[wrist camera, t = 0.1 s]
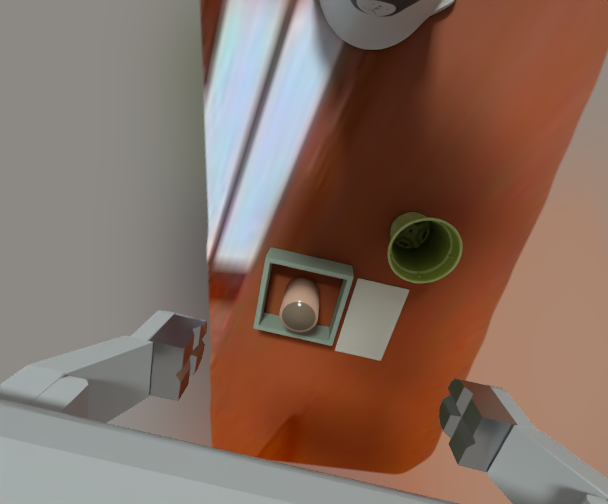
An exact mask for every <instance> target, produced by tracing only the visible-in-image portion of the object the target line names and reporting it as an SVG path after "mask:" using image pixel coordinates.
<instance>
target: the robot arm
mask: <svg viewBox="0 0 608 504" xmlns="http://www.w3.org/2000/svg"><path fill="white" fill-rule="evenodd" d="M454 1H455V0H319V2H320V5H321V8H322V11H323V14H324V16H325V18H326V20H327V22H328V24H329V25H330V27H331V28H332V29H333V31H334V32H335V33H336V34H337V35H338V36H339V37H340V38H341V39H342V40H344V41H345V42H347V43H349V44H350V45H352V46H355V47H357V48H361V49H367V50H379V49H384V48H388V47H391V46H393V45H396V44H398V43H400V42H401V41H403V40H404V39H406V38H407V37H409V36H410V35H411V34H412V33H413V32H414V31H415V30H416V29H417V28H418V27H419V26H420V25H421V24H422V23H423V22H424V21H425V20H426V19H427V18H428V17H430V16H431V15H433V14H436V13H438V12H440V11H442V10H444V9H446V8H447V7H449V6H450V5H451V4H452V3H453V2H454ZM206 330H207V322H206V321H205V320H201V319H197V318H193V317H189V316H185V315H181V314H176V313H174V312H169V311H164V310H159V311H157V312H156V313H155V314H154V315H153V316H152V317H151V318H149V319H148V320H147V321H146V322H145V323H144V324H143V325H142V326H141V327H140V328H139V329H137V330H136V331H135V332H134V333H133V334H132V335H131V336H130V337H129V336H122V337H119V338H115V339H112V340H109V341H105V342H102V343H99V344H95V345H92V346H89V347H85V348H82V349H79V350H76V351H72V352H69V353H65V354H62V355H59V356H56V357H52V358H49V359H46V360H42V361H39V362H36V363H32V364H29V365H27V366H26V367H25V368H23V369H22V370H20V371H19V372H17V373H16V374H15V375H13V376H12V377H10V378H9V379H7V380H6V381H5V382H3V383H2V384H0V504H458V503H454V502H449V501H445V500H440V499H436V498H432V497H427V496H423V495H419V494H415V493H410V492H406V491H401V490H397V489H393V488H388V487H384V486H379V485H375V484H371V483H366V482H362V481H358V480H353V479H348V478H344V477H340V476H336V475H331V474H327V473H322V472H318V471H313V470H309V469H304V468H300V467H296V466H291V465H287V464H283V463H278V462H274V461H269V460H265V459H261V458H256V457H252V456H247V455H243V454H239V453H234V452H230V451H226V450H221V449H217V448H212V447H208V446H204V445H199V444H195V443H191V442H186V441H182V440H177V439H173V438H169V437H164V436H160V435H156V434H151V433H146V432H142V431H138V430H134V429H129V428H125V427H120V426H116V425H111V424H107V422H108V421H110V420H111V419H113V418H115V417H116V416H118V415H120V414H121V413H123V412H125V411H126V410H128V409H130V408H131V407H133V406H135V405H136V404H138V403H139V402H141V401H143V400H144V399H146V398H148V397H149V395H151V396H157V397H161V398H166V399H171V400H177V401H178V400H179V399H180V397H181V395H182V394H183V392H184V390H185V389H186V387H187V385H188V382H189V376H191V375H193V374H195V372H196V370H197V369H198V367H199V364H200V362H201V359H202V355H203V351H204V345H205V344H204V342H203V341H202V338H203V337H204V335H205V334H206ZM448 390H449V393H450V395H449V396H447V397H446V398H444V399H443V400H442V403H441V405H440V409H439V419H440V424H441V427H442V429H443V431H444V432H445V433H446V434H447V435H448V436H449V437H450V438H451V440H450V442H449V446H450V448H451V450H452V452H453V455H454V457H455V459H456V462H457V464H458V465H460V466H464V467H468V468H472V469H476V470H480V471H483V472H487V475H488V476H489V477H490V478H491V480H492V481H493V482H494V483H495V484H496V485H497V486H498V488H499V489H500V490H501V491H502V492H503V493H504V494H505V495H506V497H507V498H508V499H509V500H510V501H511V502H512V503H513V504H608V479H607V478H606V477H604V476H603V475H601V474H600V473H599V472H597V471H596V470H595V469H593V468H592V467H590V466H589V465H588V464H586V463H585V462H584V461H582V460H581V459H579V458H578V457H577V456H575V455H574V454H573V453H571V452H570V451H568V450H567V449H566V448H564V447H563V446H562V445H560V444H559V443H557V442H556V441H554V440H553V439H552V438H551V437H549V436H548V435H546V434H545V433H544V432H542V431H538V430H536V428H535V427H534V426H533V424H532V423H531V422H530V421H529V420H528V418H527V417H526V415H525V414H524V413H523V412H522V410H521V409H520V408H519V407H518V405H517V404H516V403H515V402H514V400H513V399H512V397H511V396H510V395H509V394H508V392H507V391H506V390H504V389H503V388H500V387H495V386H489V385H483V384H478V383H474V382H469V381H464V380H460V379H454V380H453V381H452V382H451V383H450V385H449V387H448Z"/></svg>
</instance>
